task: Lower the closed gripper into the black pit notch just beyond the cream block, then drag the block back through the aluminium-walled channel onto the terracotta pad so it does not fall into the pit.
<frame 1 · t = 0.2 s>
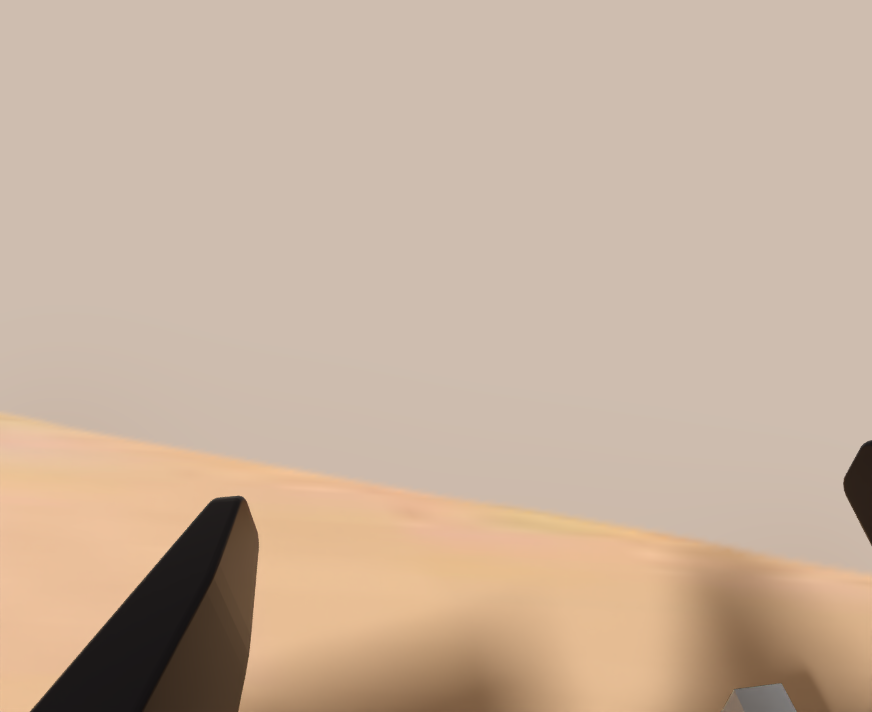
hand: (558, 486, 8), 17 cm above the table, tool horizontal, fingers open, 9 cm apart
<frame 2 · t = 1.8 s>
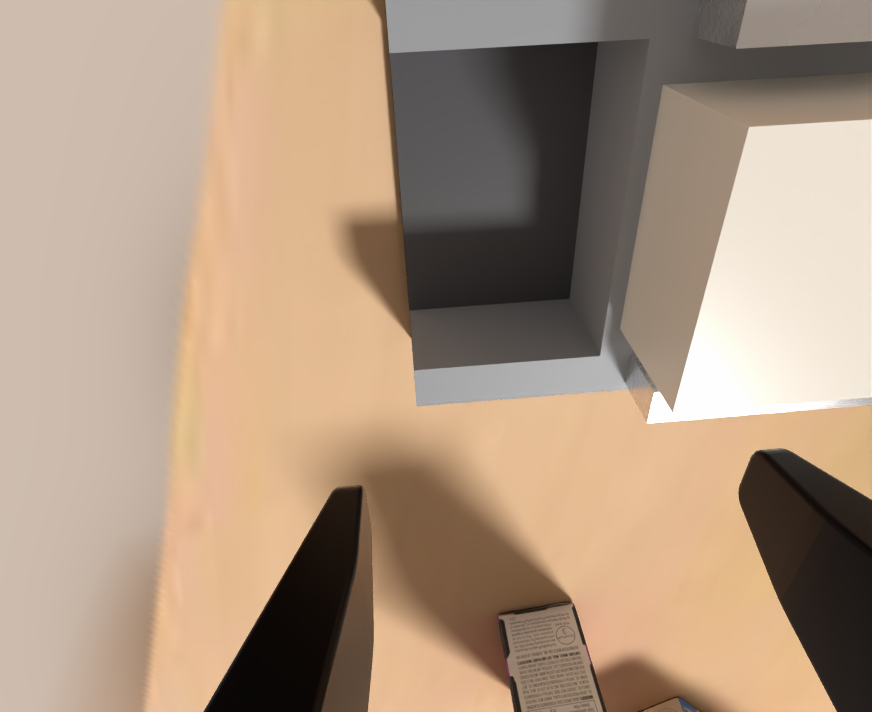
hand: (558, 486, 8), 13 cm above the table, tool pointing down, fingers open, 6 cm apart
channel walls: (855, 223, 15), on the grey piece, point 4 cm above the table
cream block: (762, 214, 16), point 4 cm above the table, touching grey piece
grey piece: (727, 167, 19), on the table
candy bar box: (543, 647, 37), on the table
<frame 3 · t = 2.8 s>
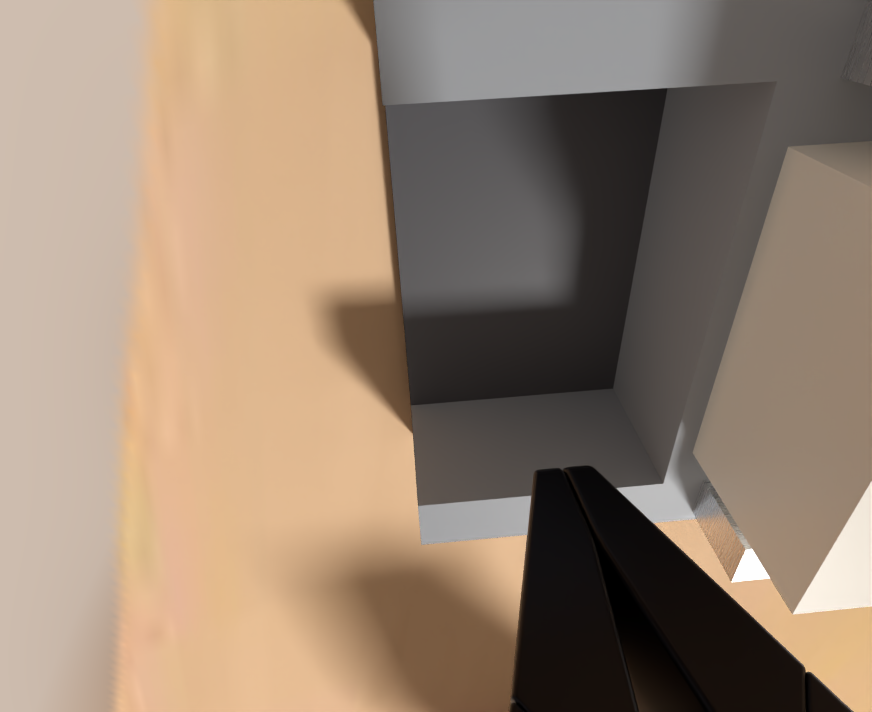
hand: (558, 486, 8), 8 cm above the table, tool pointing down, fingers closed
grey piece: (824, 230, 15), on the table
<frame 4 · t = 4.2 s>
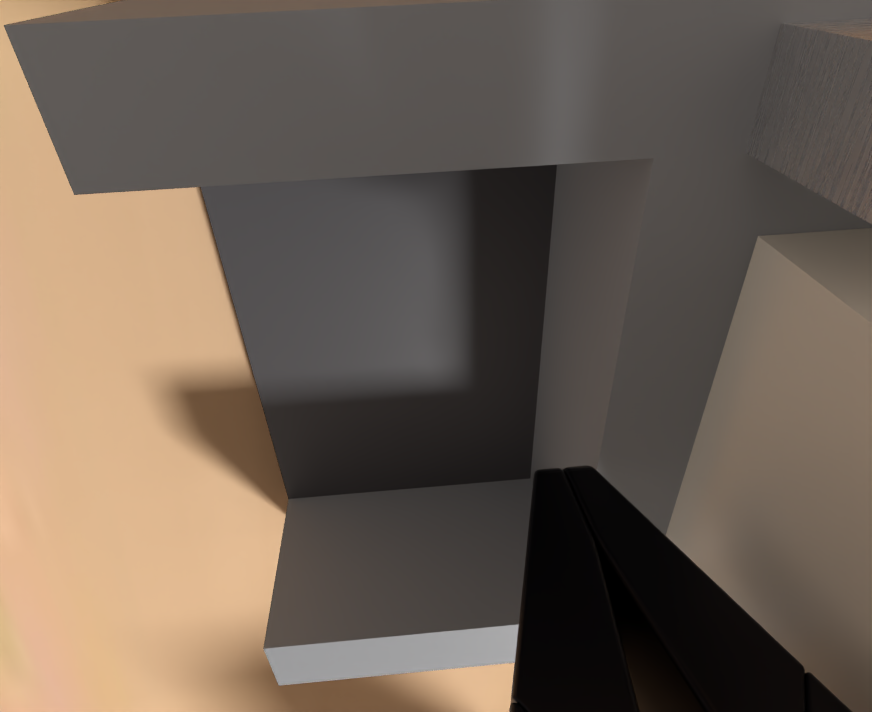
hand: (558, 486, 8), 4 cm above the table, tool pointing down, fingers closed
grey piece: (773, 302, 12), on the table
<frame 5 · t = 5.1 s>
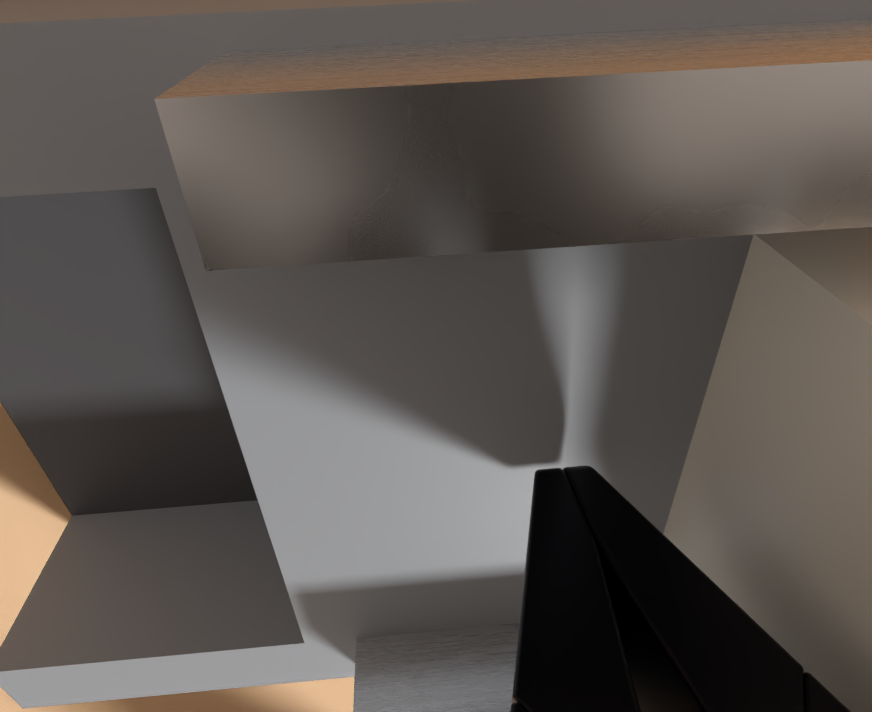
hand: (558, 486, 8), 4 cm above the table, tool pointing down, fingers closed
channel walls: (677, 505, 8), on the grey piece, point 4 cm above the table
grey piece: (530, 319, 12), on the table
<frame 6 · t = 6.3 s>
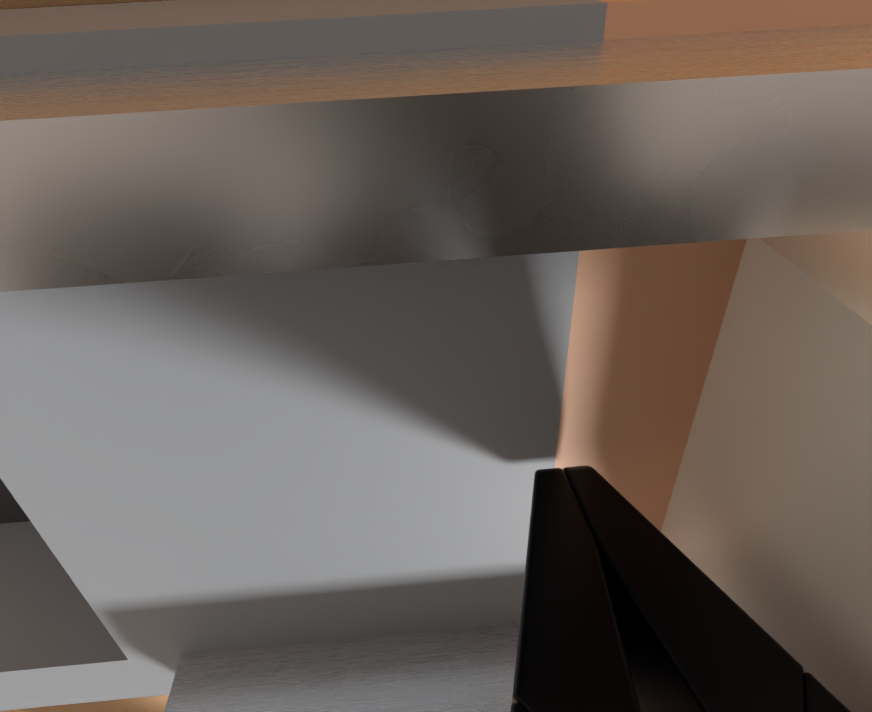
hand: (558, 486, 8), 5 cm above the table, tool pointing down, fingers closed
channel walls: (429, 526, 8), on the grey piece, point 4 cm above the table
grey piece: (365, 333, 12), on the table
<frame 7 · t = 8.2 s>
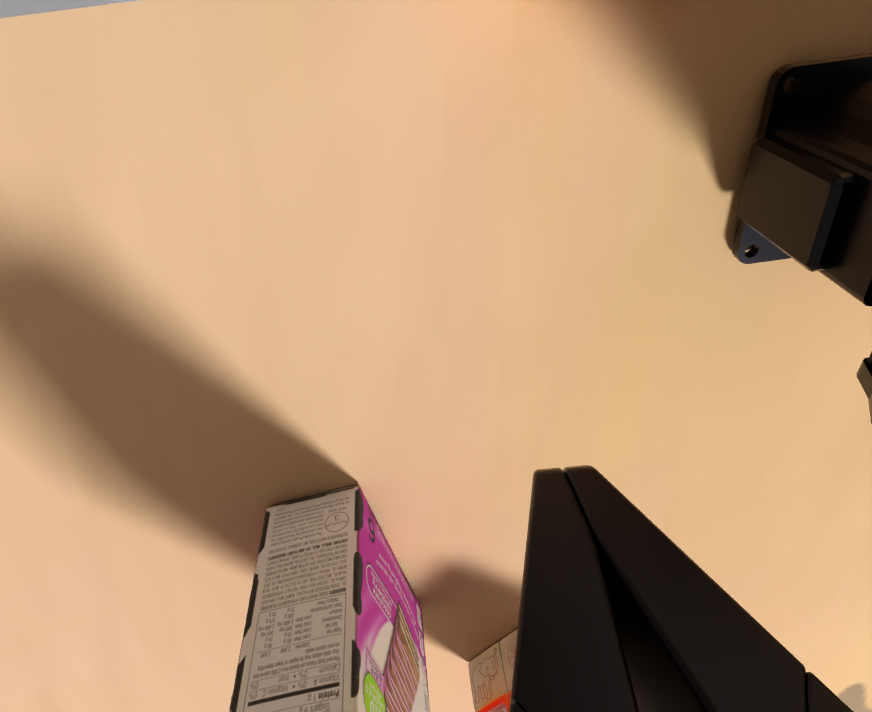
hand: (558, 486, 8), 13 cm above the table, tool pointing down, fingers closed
stack of blocks: (606, 674, 41), on the table
candy bar box: (353, 555, 30), on the table
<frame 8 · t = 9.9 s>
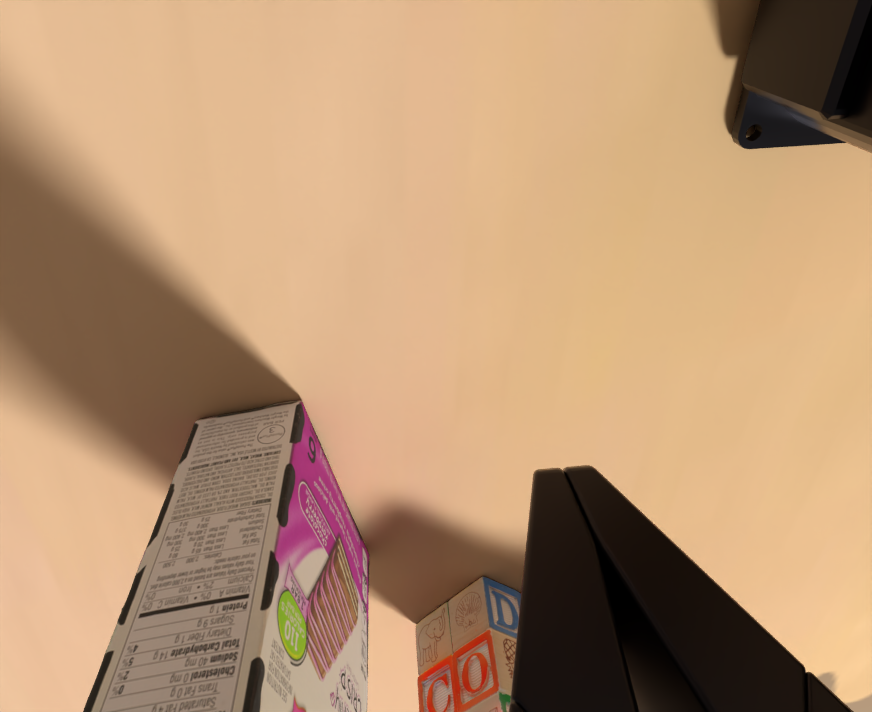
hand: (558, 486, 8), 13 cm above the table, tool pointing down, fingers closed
stack of blocks: (567, 645, 38), on the table
candy bar box: (295, 487, 27), on the table
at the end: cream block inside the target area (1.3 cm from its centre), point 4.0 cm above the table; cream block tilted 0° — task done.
